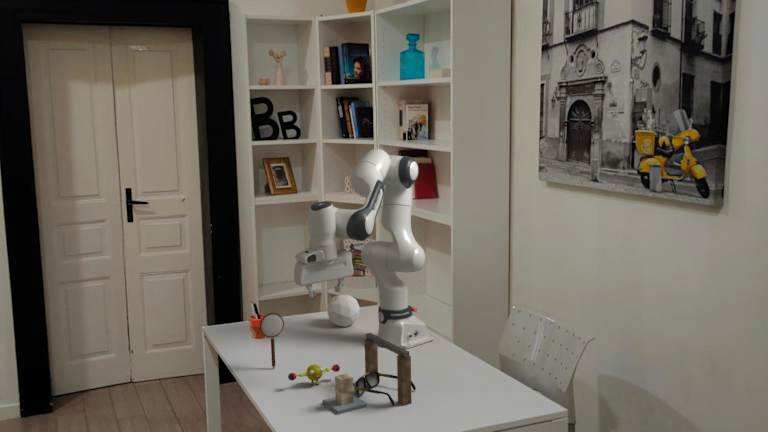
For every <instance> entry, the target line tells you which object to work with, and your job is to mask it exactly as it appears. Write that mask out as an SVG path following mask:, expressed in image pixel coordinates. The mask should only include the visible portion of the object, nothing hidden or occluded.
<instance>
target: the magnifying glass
mask: <svg viewBox="0 0 768 432" xmlns="http://www.w3.org/2000/svg"><path fill="white" fill-rule="evenodd" d="M284 326H285V322H284V318H283V317H282V315H280V314H279V313H276V312H271V313H270V312H269V313H266V315H264V316H263V317H262V318H261V320H260V323H259V330H260V332H261V334H262V335H264V337H267V338H270V348H271V349H270V350H271V351H270V353H271V367H272V369H275V368H276V349H275V348H276V347H275V346H276V345H275V338H276V337H278V336H279V335H280V334H281V333H282V332H283V330H284Z"/></svg>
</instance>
